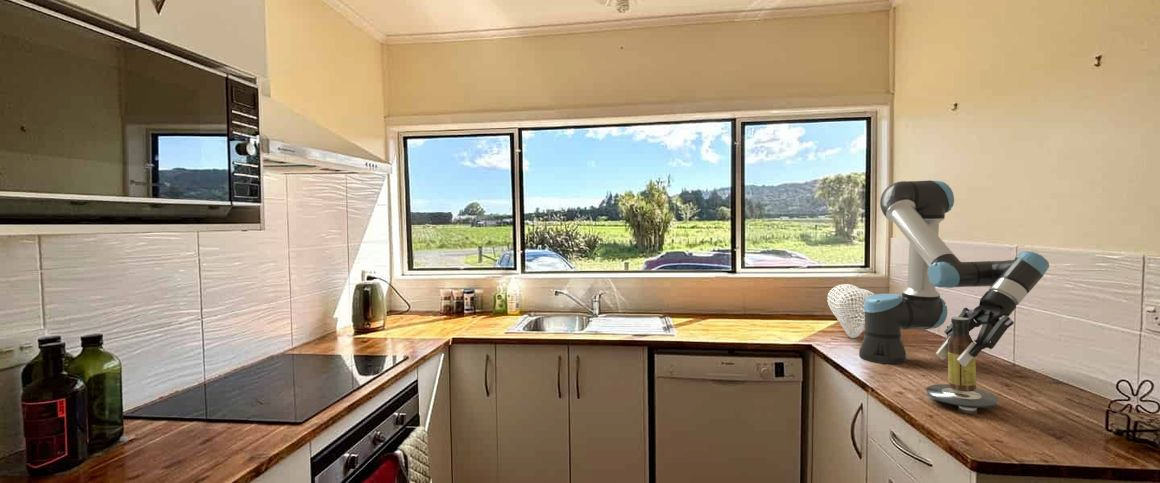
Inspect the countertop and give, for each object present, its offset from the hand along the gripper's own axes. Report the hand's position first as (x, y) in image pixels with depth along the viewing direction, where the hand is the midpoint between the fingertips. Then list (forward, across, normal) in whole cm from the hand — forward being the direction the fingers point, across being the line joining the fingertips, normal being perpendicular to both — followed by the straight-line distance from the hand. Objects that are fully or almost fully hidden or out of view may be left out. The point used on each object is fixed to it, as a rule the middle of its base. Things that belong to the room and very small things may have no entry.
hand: (950, 359), depth 143 cm
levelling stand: (+7, 0, -12) cm, 13 cm away
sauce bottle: (+4, 0, -9) cm, 9 cm away
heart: (-9, +75, -27) cm, 80 cm away
